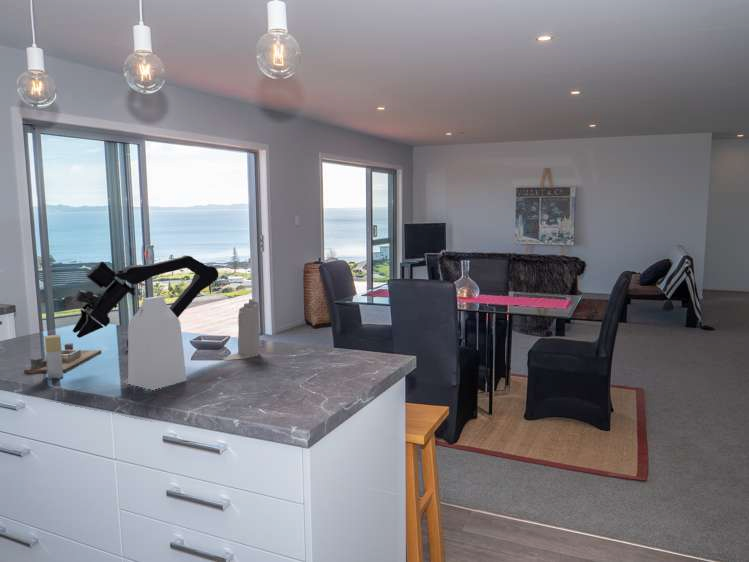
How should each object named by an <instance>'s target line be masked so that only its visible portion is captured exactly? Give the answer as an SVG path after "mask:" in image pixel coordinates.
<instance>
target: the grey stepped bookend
mask: <svg viewBox="0 0 749 562" xmlns="http://www.w3.org/2000/svg"><path fill="white" fill-rule="evenodd" d="M259 305H260V304H259V302H258V300H256V299H251V298H250V299H248V303H246V302H245V303H244V305H243V306H242V307H240V308H239V309H238V317H237V318H238V319H237V320H238V322H237V325H238V332H237V333H238V336H237V338H238V339H237V340H238V341H237V349H238V351H237V353H233V354H230V355H227V356H226V357H225V356H224V357H223V358H221V360H225V361H232V360H242V359H243V360H245V359H249V358H254V357H255V356H256V357H258V355H259V356H260V355H261V350H260V349H261V348H260V313H259V312H260V309H259Z"/></svg>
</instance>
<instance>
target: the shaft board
mask: <svg viewBox="0 0 749 562" xmlns="http://www.w3.org/2000/svg"><path fill="white" fill-rule="evenodd" d="M61 353H62V368H63V372H66V371H67V372H69V371H71V370H72V368H73V369H74V367H75V368H76V366H77V367H78V366H80V365H82V364H84V363H85V361H86V362H87V361H90V360H91V359H93V358H94V356H95V357H97V356H98V355H100V354H102V350H101V349H98V350H97V349H95V350H93V349H92V350H91V349H90V350H89V349H88V350H85V349H84V350H81V349H74V343H72V342H70V343H64V349H61ZM99 353H100V354H99ZM96 355H97V356H96ZM92 357H93V358H92ZM90 358H91V359H90ZM83 362H84V363H83ZM81 363H82V364H81ZM79 364H80V365H79ZM70 369H71V370H70ZM68 370H69V371H68ZM38 372H39V373H38ZM41 372H47V367H46V359H44V358H43V357H34V358H30V367H28V368H25V369H24V372H23V373H24V374H42V373H41ZM67 372H66V373H67Z"/></svg>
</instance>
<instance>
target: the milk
mask: <svg viewBox="0 0 749 562" xmlns="http://www.w3.org/2000/svg"><path fill="white" fill-rule="evenodd" d="M181 325H182V324H181V321H180V319H179V317H178V318H177V316H176V315H175V314H174V313H173V312H172V311H171V309H170V306H168V305H167V303H166V300H165V298H164V296H162V295H159V296H153V297H152V296H151V297H145V298H143V299H142V302H141V305H140V308H139V309H138V311H137V312H136V313H135V314H134V315H133V316H132V317H131V319H130V320H129V322H128V326H127V327H128V328H127V340H128V348H127V356H128V357H127V360H128V361H127V363H128V364H127V368H128V370H127V376H128V377H127V381H128V384H131V385H130V386H132V385H135V386H134V387H136V386H139V387H138V388H140V387H143V388H142V389H144V388H146V389H145V390H148V389H151V390H150V391H152V390H154V391H156V390H155V389H157V390H159V389H158V388H160V389H163V388H162V387H164V388H166V387H165V386H167V387H170V386H174V385H177V384H180V383H183V382H186V381H187V372H186V362H185V354H184V345H183V344H184V343H183V335H182V326H181ZM176 383H177V384H176ZM169 385H170V386H169Z"/></svg>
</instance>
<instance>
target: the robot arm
mask: <svg viewBox="0 0 749 562" xmlns="http://www.w3.org/2000/svg"><path fill="white" fill-rule="evenodd" d="M182 269H188V270H190V271H191V272H192V273H194V275H192V276H193V277H192V279H191V282H190V284H189V285H188V286H187V287H185V289H184V290H183V292H182V293H181V294H180V295H179V296H178V297H177V298H176V299H175V301H174V302H173V303H172V304H171V306H169V308H170V309H171V311H172V312H173V313H174V314H175V315H176V316H177V318H178V319H179V317H180V316H181V315H182V314H183V313H184V311H185V310H186V309H187V308H188V307H189V306H190V304H191V303H192V302H193V301H194V300H195V298H197V296H198V295H199V294H200V293H201V292H202V291H203V290H205V289H206V288H208V287H209V286H211V285H213V284H214V283H215V282H216V281H217V280H218V279H219V271H218V269H217V268H216V267H214V266H212V265H207V264H205V263H202V262H201V261H199V260H197V259H195V258H194V256H191V255H183V256H180V257H176V258H172V259H168V260H164V261H160V262H155V263H151V264H140V265H139V264H138V265H137V264H136V265H135V264H134V265H127V266H125V267H124V268H123V269H121V270H115V271H114V270H112V268H110V267H109V266H108V265H107V264H106V263H105V262H104V261H100V262H99V263H98V264H96V265H95V266H94V267H92V268H91V269H90V270H89V271H88V272H87V273H86V275H85V277H86V278H87V279H89V280H90V281H91V282H92V283H93V284H94V285H96V286H97V287H98V288H99V289H100V288H101V289H102V288H106V289H105V290H104V291H103V292H102V293H98V294H97V295H95V294H94V292H93V291H89V290H86V291H84V290H80V289H78V291H77V294H76V295H75V298H74V300H76V301H77V302H80V303H83V304H82V305H81V306H80V308H79V309H80V317H79V318H78V321H77V323H76V324H75V325H74V328H73V329H72V332H73V333H75V334H76V337H77V338H78V339H81V338H83V337H84V336H87V335H89V334H91V333H94V332H95V331H98V330H100V329H104V328H105V327H107V326H108V325H109V324H110V322H111V319H110V317H109V314H110V312H111V311H112V310H113V309H116V308H117V307H118V304H119V303H120V302H121V301H122V300H123V299H124V298H125V297H126V296H127V295H128V294H129V295H132V296H136V292H135V290H136V287H134V286H130V285H138V284H141V283H143V282H145V281H147V280H149V279H151V278H152V277H155V276H158V275H162V274H166V273H170V272H174V271H178V270H182ZM117 279H118V280H121V281H122V282H120V281H118V280H117ZM126 282H127V283H129V284H130V285H128V284H127V283H126Z"/></svg>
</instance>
